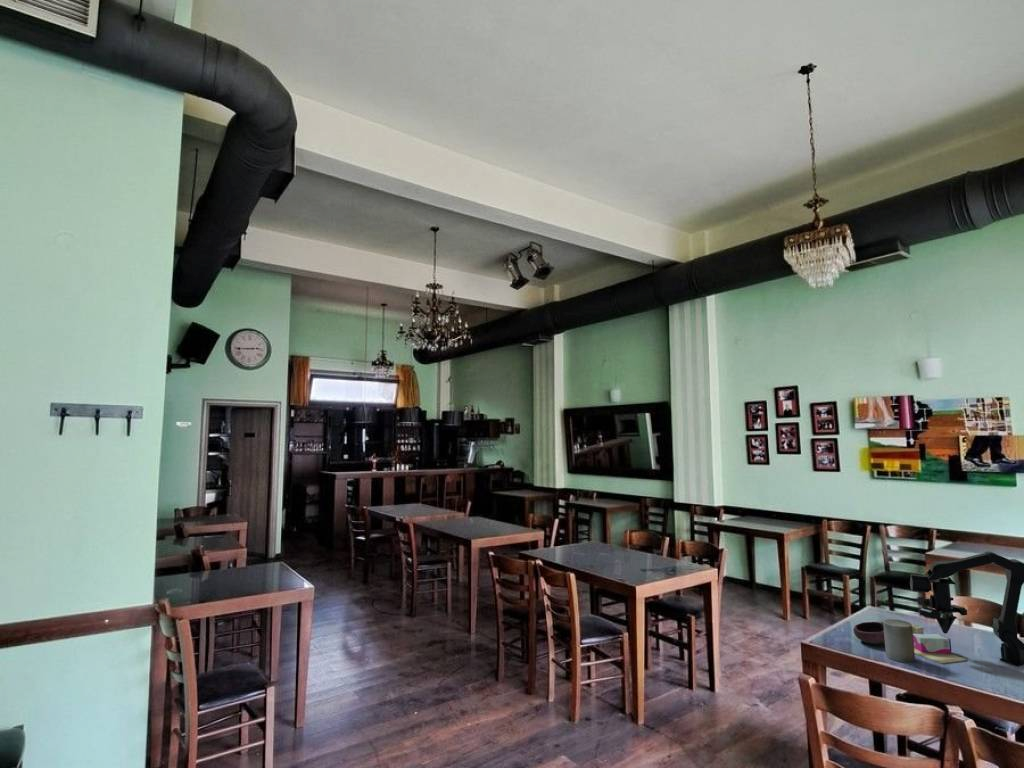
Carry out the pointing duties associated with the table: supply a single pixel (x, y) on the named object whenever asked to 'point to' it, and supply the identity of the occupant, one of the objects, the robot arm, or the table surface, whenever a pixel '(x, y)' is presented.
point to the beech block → (917, 629)
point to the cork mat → (940, 657)
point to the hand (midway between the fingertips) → (945, 633)
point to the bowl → (870, 632)
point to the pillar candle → (899, 640)
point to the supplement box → (932, 643)
